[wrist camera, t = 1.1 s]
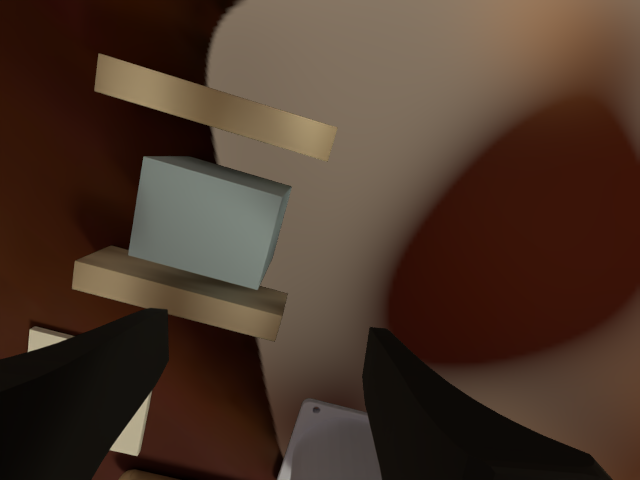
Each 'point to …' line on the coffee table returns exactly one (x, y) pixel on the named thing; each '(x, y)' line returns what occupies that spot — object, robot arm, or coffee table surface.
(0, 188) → the coffee table surface
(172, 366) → the coffee table surface
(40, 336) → the coaster
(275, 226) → the block
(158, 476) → the dowel
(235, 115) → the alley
